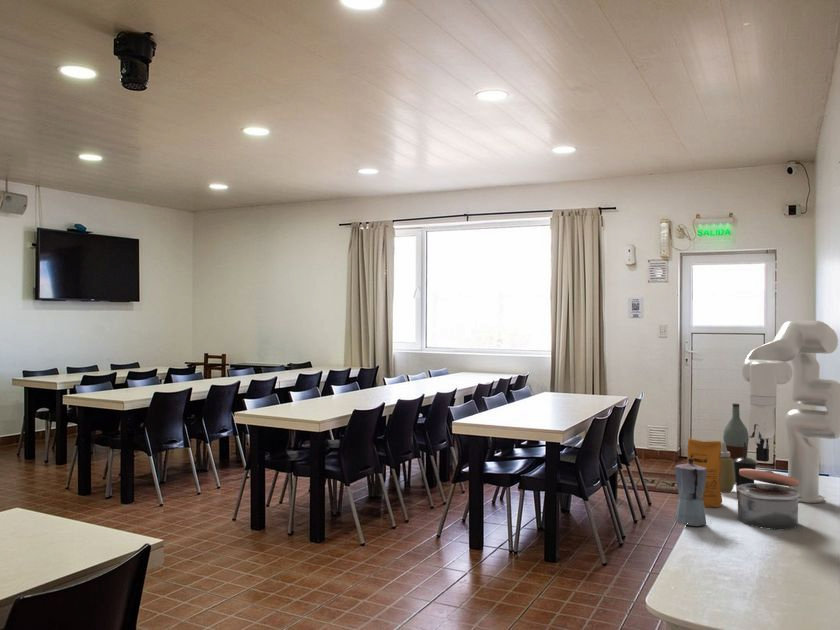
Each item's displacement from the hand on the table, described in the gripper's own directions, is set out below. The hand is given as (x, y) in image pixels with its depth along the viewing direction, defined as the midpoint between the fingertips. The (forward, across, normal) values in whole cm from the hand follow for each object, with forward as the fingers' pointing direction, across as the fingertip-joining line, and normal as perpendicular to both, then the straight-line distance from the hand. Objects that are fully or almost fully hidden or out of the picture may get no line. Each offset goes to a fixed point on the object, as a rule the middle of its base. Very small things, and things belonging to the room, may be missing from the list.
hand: (762, 460), depth 221 cm
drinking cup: (+20, -27, -16) cm, 37 cm away
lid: (+7, -5, 0) cm, 8 cm away
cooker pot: (+20, -4, 0) cm, 20 cm away
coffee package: (+20, -11, -24) cm, 33 cm away
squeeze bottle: (+20, -34, -26) cm, 47 cm away
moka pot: (+20, +15, -16) cm, 29 cm away
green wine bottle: (+19, -55, -30) cm, 65 cm away
